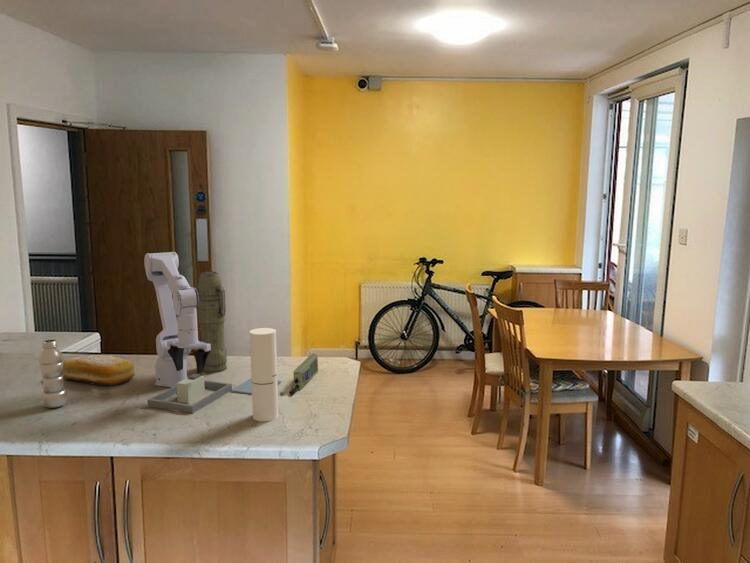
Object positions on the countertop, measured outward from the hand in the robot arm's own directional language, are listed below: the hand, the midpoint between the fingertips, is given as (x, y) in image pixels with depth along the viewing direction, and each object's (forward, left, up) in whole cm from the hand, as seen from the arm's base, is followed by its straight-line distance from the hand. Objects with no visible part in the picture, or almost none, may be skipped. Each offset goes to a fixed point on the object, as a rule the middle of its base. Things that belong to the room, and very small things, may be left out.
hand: (190, 371), depth 174 cm
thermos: (-10, +26, -9) cm, 29 cm away
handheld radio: (+27, +24, -9) cm, 37 cm away
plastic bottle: (-34, -19, -9) cm, 40 cm away
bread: (-41, +4, -9) cm, 42 cm away
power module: (0, 0, -9) cm, 9 cm away
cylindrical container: (+29, -5, -9) cm, 31 cm away
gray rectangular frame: (0, 0, -8) cm, 8 cm away
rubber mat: (+14, +15, -8) cm, 22 cm away
